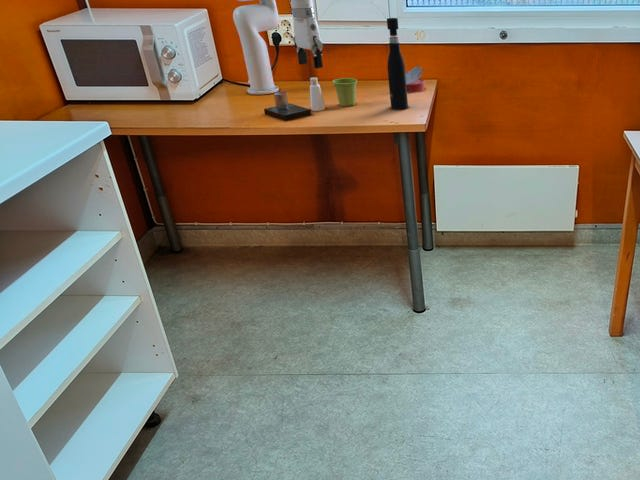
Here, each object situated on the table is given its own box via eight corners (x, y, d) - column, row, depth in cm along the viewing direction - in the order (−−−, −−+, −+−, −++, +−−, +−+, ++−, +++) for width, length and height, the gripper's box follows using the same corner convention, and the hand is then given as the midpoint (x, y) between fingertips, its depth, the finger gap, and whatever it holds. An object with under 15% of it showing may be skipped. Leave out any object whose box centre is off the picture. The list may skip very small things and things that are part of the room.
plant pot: (362, 101, 249) (360, 78, 244) (356, 107, 242) (353, 83, 237) (339, 101, 250) (336, 77, 245) (332, 107, 242) (329, 83, 237)
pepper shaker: (318, 111, 238) (313, 80, 231) (308, 109, 240) (302, 78, 234) (328, 108, 242) (324, 77, 235) (318, 106, 244) (313, 75, 238)
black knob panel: (264, 114, 236) (263, 108, 235) (290, 108, 242) (289, 102, 241) (285, 121, 228) (284, 115, 227) (311, 115, 234) (310, 108, 233)
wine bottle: (410, 106, 242) (404, 17, 225) (403, 110, 237) (396, 20, 220) (395, 105, 244) (387, 17, 227) (388, 109, 239) (379, 19, 222)
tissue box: (423, 102, 265) (423, 82, 256) (399, 99, 265) (398, 79, 256) (425, 83, 270) (425, 63, 261) (402, 81, 270) (401, 60, 261)
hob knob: (280, 109, 233) (277, 94, 230) (274, 107, 236) (271, 92, 232) (290, 107, 235) (288, 92, 232) (284, 105, 238) (281, 90, 235)
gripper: (326, 14, 220) (333, 68, 230) (298, 9, 229) (306, 60, 239) (308, 17, 215) (316, 71, 225) (280, 11, 225) (289, 63, 235)
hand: (311, 65), depth 232 cm, fingers open, 9 cm apart
